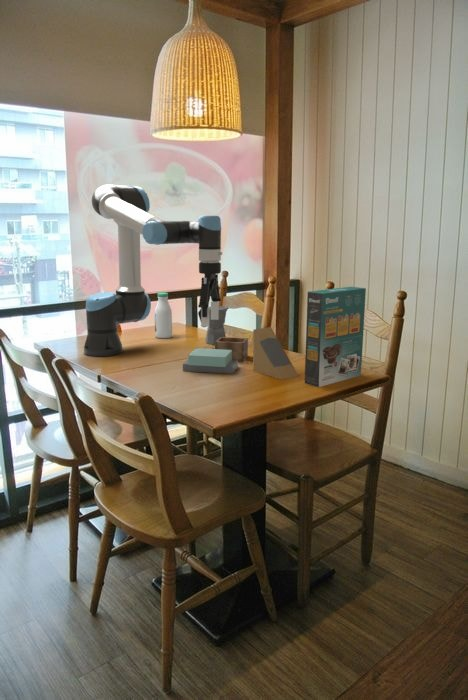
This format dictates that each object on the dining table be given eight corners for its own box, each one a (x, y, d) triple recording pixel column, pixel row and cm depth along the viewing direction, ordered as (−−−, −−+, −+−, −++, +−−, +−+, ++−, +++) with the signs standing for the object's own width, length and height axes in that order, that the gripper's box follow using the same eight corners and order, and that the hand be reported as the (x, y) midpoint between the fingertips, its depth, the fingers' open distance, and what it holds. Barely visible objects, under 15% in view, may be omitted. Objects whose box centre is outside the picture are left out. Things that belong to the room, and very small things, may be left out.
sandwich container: (281, 380, 188) (283, 336, 184) (252, 371, 199) (252, 329, 196) (300, 376, 193) (301, 333, 189) (270, 367, 205) (271, 326, 201)
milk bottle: (175, 336, 256) (174, 292, 252) (165, 339, 250) (164, 294, 246) (162, 334, 260) (161, 291, 256) (151, 337, 254) (150, 293, 250)
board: (182, 370, 198) (182, 363, 198) (189, 364, 207) (189, 357, 206) (232, 373, 195) (232, 366, 194) (237, 367, 204) (237, 360, 203)
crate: (215, 359, 214) (215, 341, 213) (220, 354, 223) (220, 337, 221) (243, 361, 212) (243, 343, 211) (247, 355, 221) (247, 338, 219)
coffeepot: (222, 338, 252) (222, 298, 248) (234, 342, 245) (234, 301, 240) (192, 343, 243) (192, 301, 239) (204, 346, 236) (204, 304, 232)
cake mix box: (346, 371, 198) (351, 286, 191) (360, 375, 194) (365, 288, 187) (304, 383, 184) (307, 291, 177) (318, 387, 180) (322, 293, 173)
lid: (188, 365, 196) (188, 355, 196) (196, 357, 207) (196, 348, 206) (225, 367, 194) (225, 357, 193) (231, 359, 205) (231, 349, 204)
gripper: (211, 264, 180) (212, 330, 185) (228, 259, 204) (228, 317, 209) (189, 264, 181) (190, 329, 186) (208, 259, 205) (208, 316, 210)
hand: (210, 322), depth 197 cm, fingers open, 13 cm apart
